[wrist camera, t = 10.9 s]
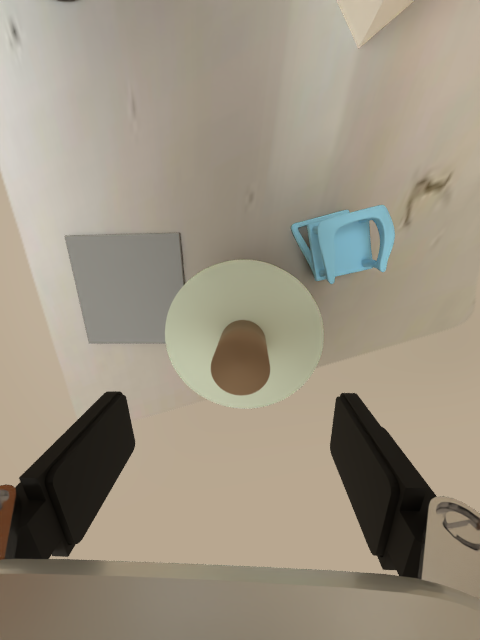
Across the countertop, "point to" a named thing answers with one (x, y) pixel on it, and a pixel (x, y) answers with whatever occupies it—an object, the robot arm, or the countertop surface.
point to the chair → (345, 242)
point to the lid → (244, 334)
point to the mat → (126, 284)
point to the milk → (370, 16)
